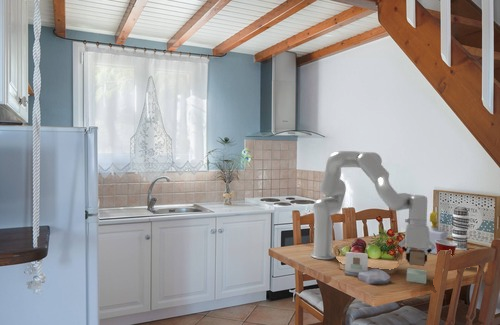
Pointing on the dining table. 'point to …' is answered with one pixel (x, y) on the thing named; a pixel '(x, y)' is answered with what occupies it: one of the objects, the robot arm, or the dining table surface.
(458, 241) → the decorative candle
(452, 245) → the plastic cup
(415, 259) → the walnut block
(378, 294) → the dining table surface
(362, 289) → the dining table surface
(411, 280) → the sage block
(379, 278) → the stone block
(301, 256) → the dining table surface
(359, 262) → the picture card
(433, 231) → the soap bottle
